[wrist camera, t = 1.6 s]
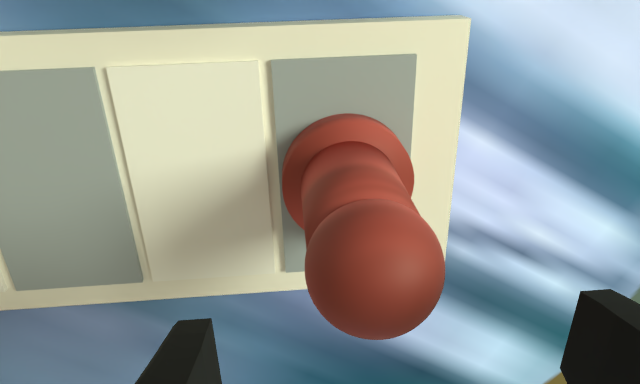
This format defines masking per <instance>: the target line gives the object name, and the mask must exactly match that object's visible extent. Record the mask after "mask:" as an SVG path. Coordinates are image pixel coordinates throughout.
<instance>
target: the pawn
mask: <svg viewBox="0 0 640 384" xmlns="http://www.w3.org/2000/svg"><path fill="white" fill-rule="evenodd" d="M413 188H414V170H413V166H412V162H411V159H410V157H409V155H408V153H407V151H406V150H405V148H404V147H403V145H402V144H401V142H400V141H399V139H398V138H397V136H396V135H395V134H394V133H393V132H392V131H391V130H390V129H389V128H388V127H387V126H386V125H384V124H383V123H381V122H379V121H378V120H376V119H373V118H371V117H368V116H365V115H360V114H351V113H344V114H336V115H332V116H328V117H325V118H322V119H320V120H318V121H316V122H314V123H312V124H311V125H309V126H308V127H306V128H305V129H304V130H303V131H302V132H301V133H299V134H298V136H297V137H296V138H295V139H294V140H293V142H292V143H291V145H290V147H289V148H288V151H287V153H286V155H285V158H284V162H283V167H282V192H283V199H284V202H285V205H286V208H287V210H288V212H289V214H290V215H291V217H292V218H293V220H294V221H295V222H296V223H297V224H298V225H299V226H300V227H301V228H302V229H303V230H305V240H306V250H307V251H306V256H305V280H306V285H307V288H308V292H309V294H310V296H311V299H312V301H313V303H314V305H315V306H316V307H317V309H318V310H319V312H320V313H321V314H322V315H323V317H324V318H325V319H326V320H327V321H329V322H330V323H331V324H332V325H333V326H335V327H336V328H338V329H339V330H341V331H343V332H345V333H347V334H349V335H352V336H355V337H358V338H363V339H370V340H383V339H390V338H394V337H397V336H400V335H403V334H405V333H407V332H409V331H411V330H413V329H414V328H415V327H417V326H418V325H419V324H421V323H422V322H423V321H424V320H425V319H426V318H427V317H428V316H429V315H430V313H431V312H432V311H433V309H434V307H435V306H436V304H437V302H438V300H439V298H440V295H441V293H442V289H443V285H444V280H445V261H444V255H443V251H442V248H441V245H440V243H439V240H438V238H437V236H436V234H435V233H434V231H433V230H432V228H431V227H430V226H429V224H428V223H427V222H426V221H425V220H424V219H423V218H422V217H421V216H420V214H419V212H418V210H417V208H416V207H415V205H414V203H413V201H412V199H411V196H412V193H413Z"/></svg>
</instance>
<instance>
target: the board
mask: <svg viewBox="0 0 640 384" xmlns="http://www.w3.org/2000/svg"><path fill="white" fill-rule="evenodd" d="M470 24H471V18H468V17H465V16H462V15H446V16H419V17H391V18H364V19H337V20H309V21H282V22H255V23H228V24H200V25H173V26H146V27H119V28H91V29H64V30H37V31H10V32H0V311H1V310H16V309H30V308H44V307H58V306H72V305H87V304H101V303H115V302H129V301H144V300H158V299H172V298H186V297H201V296H215V295H229V294H243V293H257V292H272V291H286V290H300V289H308V288H307V285H306V280H305V256H306V251H307V250H306V240H305V230H303V229H302V228H301V227H300V226H299V225H298V224H297V223H296V222H295V221H294V220H293V218H292V217H291V215H290V214H289V212H288V210H287V208H286V205H285V202H284V199H283V192H282V167H283V162H284V158H285V155H286V153H287V151H288V148H289V147H290V145H291V143H292V142H293V140H294V139H295V138H296V137H297V136H298V134H299V133H301V132H302V131H303V130H304V129H305V128H306V127H308V126H309V125H311V124H312V123H314V122H316V121H318V120H320V119H322V118H325V117H328V116H332V115H336V114H344V113H351V114H360V115H365V116H368V117H371V118H373V119H376V120H378V121H379V122H381V123H383V124H384V125H386V126H387V127H388V128H389V129H390V130H391V131H392V132H393V133H394V134H395V135H396V136H397V138H398V139H399V141H400V142H401V144H402V145H403V147H404V148H405V150H406V151H407V153H408V155H409V157H410V159H411V162H412V166H413V170H414V188H413V193H412V196H411V199H412V201H413V203H414V205H415V207H416V208H417V210H418V212H419V214H420V216H421V217H422V218H423V219H424V220H425V221H426V222H427V223H428V224H429V226H430V227H431V228H432V230H433V231H434V233H435V234H436V236H437V238H438V240H439V243H440V245H441V248H442V251H443V255H444V261H445V255H446V246H447V236H448V227H449V218H450V209H451V199H452V190H453V181H454V172H455V162H456V153H457V144H458V135H459V125H460V116H461V107H462V98H463V88H464V79H465V70H466V61H467V51H468V42H469V33H470Z"/></svg>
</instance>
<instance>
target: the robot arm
mask: <svg viewBox="0 0 640 384" xmlns="http://www.w3.org/2000/svg"><path fill="white" fill-rule="evenodd" d="M560 369H561V371H562V373H563V375H564V377H565V380H566V381H567V384H640V304H638V303H636V302H635V301H633V300H631V299H629V298H627V297H625V296H623V295H621V294H619V293H617V292H615V291H613V290H611V289H606V290H592V291H580V295H579V299H578V303H577V306H576V310H575V314H574V317H573V321H572V325H571V329H570V332H569V336H568V340H567V343H566V347H565V351H564V355H563V358H562V362H561V366H560ZM135 384H222V381H221V375H220V369H219V363H218V357H217V350H216V344H215V338H214V332H213V326H212V320H211V318H209V319H195V320H182V321H178V322H177V323H176V324H175V325H174V326H173V327H172V329H171V331H170V332H169V334H168V335H167V337H166V338H165V340H164V341H163V343H162V344H161V346H160V347H159V349H158V351H157V352H156V354H155V355H154V357H153V358H152V359H151V361H150V362H149V364H148V365H147V367H146V368H145V370H144V371H143V373H142V374H141V375H140V377H139V378H138V380H137V381H136V383H135Z"/></svg>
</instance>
